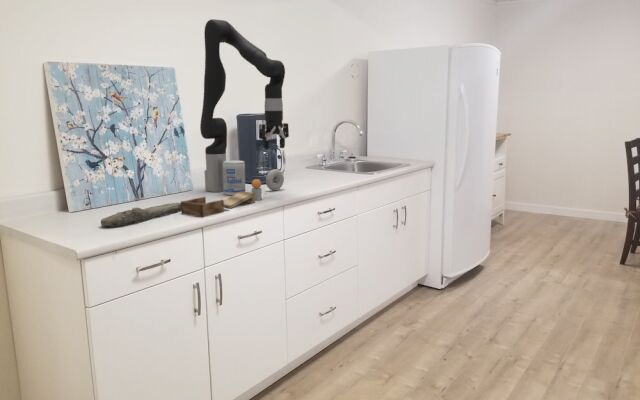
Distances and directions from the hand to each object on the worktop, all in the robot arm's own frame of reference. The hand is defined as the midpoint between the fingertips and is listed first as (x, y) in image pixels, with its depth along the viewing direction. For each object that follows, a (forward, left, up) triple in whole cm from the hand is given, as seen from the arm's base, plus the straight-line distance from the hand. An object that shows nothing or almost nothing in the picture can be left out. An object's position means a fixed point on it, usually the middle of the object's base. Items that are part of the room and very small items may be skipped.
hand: (274, 148), depth 216 cm
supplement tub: (-21, +3, -21) cm, 30 cm away
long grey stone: (-31, -48, -22) cm, 61 cm away
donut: (-7, +16, -21) cm, 27 cm away
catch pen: (-15, -35, -21) cm, 43 cm away
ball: (-6, -7, -16) cm, 18 cm away
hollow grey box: (-6, -7, -21) cm, 23 cm away
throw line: (-13, -27, -21) cm, 37 cm away
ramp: (-9, -18, -21) cm, 29 cm away
